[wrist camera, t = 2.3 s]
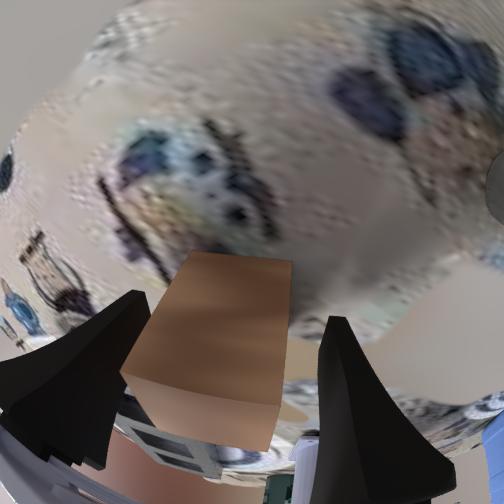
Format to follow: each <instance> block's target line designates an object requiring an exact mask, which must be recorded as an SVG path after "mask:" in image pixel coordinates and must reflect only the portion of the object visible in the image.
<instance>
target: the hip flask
mask: <svg viewBox="0 0 504 504" xmlns="http://www.w3.org/2000/svg"><path fill="white" fill-rule="evenodd" d="M486 201H487V205H488V208H489V211H490V212H491V214H492V215H493V216H494V217H495V218H496V219H497V220H498V221H499V222H501V223H502V224H503V225H504V151H503V152H501V153H500V154H499V155H498V156H497V157H496V158H495V160H494V161H493V163H492V165H491V167H490V169H489V172H488V175H487V181H486Z"/></svg>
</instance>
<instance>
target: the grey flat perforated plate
mask: <svg viewBox="0 0 504 504" xmlns="http://www.w3.org/2000/svg"><path fill="white" fill-rule="evenodd" d="M71 331H73V330H72V329H70V331H69V332H71ZM69 332H68V333H69ZM68 333H67V334H68ZM124 393H126V394H129V395H132V396H134V394H133V393H132V391H131V390H130V388H129V386H127V388H126V390H125V392H124ZM115 423H116V424H117V425H118V426H119V427H120V428H121V429H122V430H123V431H124V432H125V433H126V434H127V435H128V436H129V437H130V438H131V439H132V440H133V441H134V442H135V443H136V444H138V445H139V446H140V447H141V448H142V449H143V450H144V451H145V452H146V453H147V454H148V455H149V456H151V457H152V458H153V459H154V460H155V461H156V462H158V463H160V464H163V465H167V466H170V467H173V468H176V469H180V470H183V471H187V472H191V473H195V474H199V475H203V476H207V477H212V478H217V479H221V475H222V471H223V467H222V464H221V461H220V458H219V455H218V453H217V450H216V447H215V444H212V443H208V442H203V441H199V440H195V439H191V438H187V437H183V436H179V435H175V434H172V433H168V432H165V431H162V430H158V429H157V428H156V426H155V425H154V424H153V422H152V421H151V419H150V418H149V417H148V415H147V414H146V412H145V411H144V409H143V408H142V407H141V405H140V404H139V402H137V401H134V400H131V399H128V398H126V396H125V395H124V394H123V397H122V400H121V403H120V405H119V408H118V411H117V414H116V418H115Z"/></svg>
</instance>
